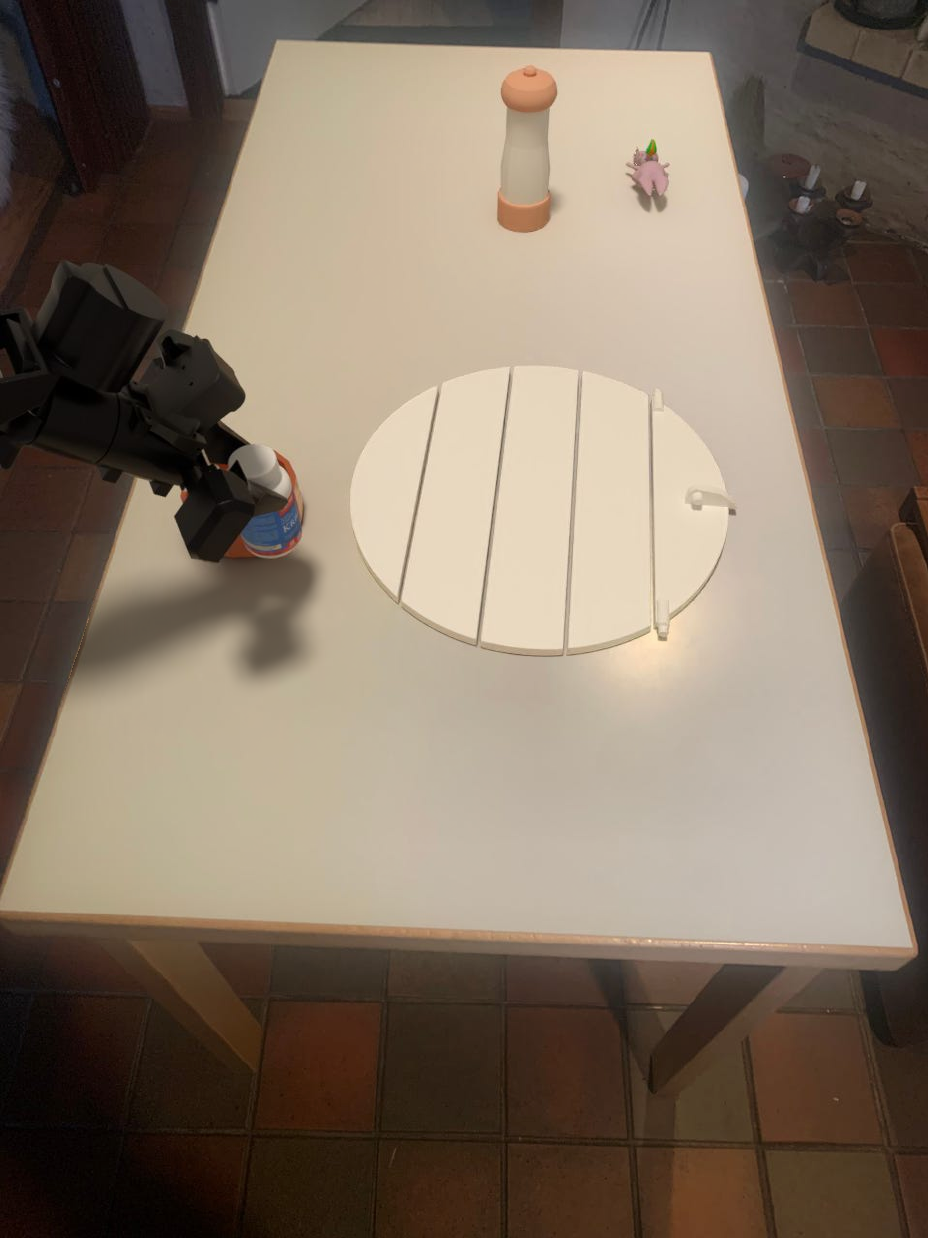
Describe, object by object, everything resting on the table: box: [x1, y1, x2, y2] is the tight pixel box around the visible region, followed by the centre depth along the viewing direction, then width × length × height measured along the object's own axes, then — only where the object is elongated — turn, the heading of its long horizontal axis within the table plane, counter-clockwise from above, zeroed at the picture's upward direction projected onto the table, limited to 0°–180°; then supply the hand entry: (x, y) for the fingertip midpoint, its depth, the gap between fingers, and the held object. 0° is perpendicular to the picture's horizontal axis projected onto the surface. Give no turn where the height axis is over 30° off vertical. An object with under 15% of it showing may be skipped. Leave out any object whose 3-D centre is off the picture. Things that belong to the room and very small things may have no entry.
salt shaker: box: [496, 64, 558, 233], centre depth 110 cm, size 7×7×19 cm
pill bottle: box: [228, 443, 303, 559], centre depth 73 cm, size 6×5×10 cm
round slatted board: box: [349, 365, 738, 657], centre depth 87 cm, size 40×39×3 cm
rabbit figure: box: [625, 138, 670, 197], centre depth 119 cm, size 6×6×15 cm
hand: (274, 482), depth 72 cm, fingers closed on pill bottle, 5 cm apart
